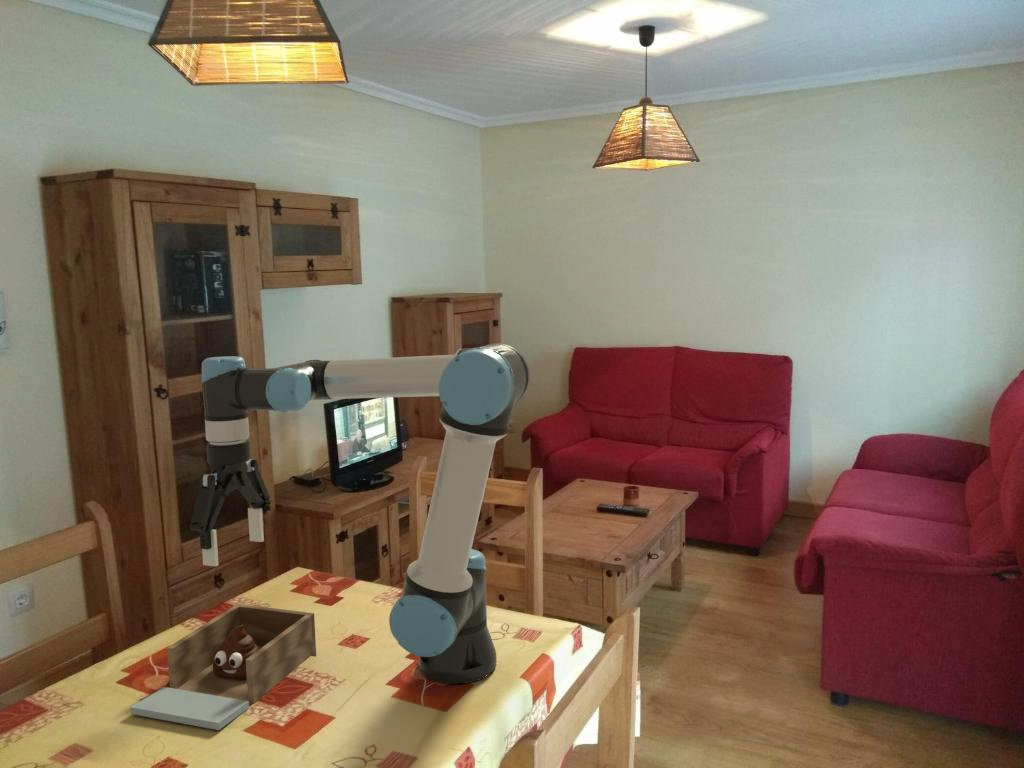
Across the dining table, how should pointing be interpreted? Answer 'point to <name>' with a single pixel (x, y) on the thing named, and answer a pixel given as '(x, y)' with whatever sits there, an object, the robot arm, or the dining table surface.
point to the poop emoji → (234, 654)
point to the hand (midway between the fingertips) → (234, 552)
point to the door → (190, 708)
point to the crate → (280, 652)
